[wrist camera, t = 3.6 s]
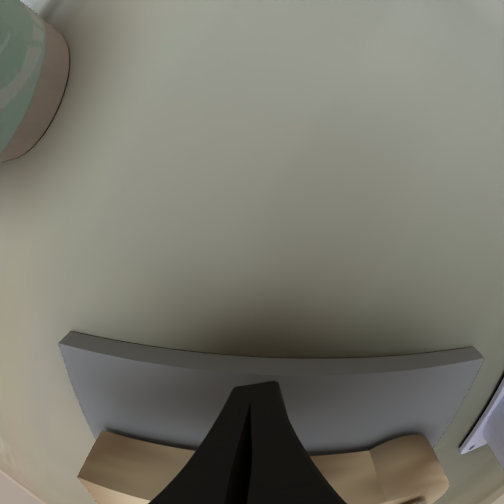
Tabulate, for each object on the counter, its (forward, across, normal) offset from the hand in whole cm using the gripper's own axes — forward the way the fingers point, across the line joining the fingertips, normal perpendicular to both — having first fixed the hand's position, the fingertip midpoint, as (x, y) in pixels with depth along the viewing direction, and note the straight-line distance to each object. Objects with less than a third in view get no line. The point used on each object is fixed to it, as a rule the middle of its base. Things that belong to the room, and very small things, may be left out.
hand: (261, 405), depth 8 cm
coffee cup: (+2, +7, -13) cm, 15 cm away
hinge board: (+2, +3, +12) cm, 12 cm away
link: (+1, +1, +6) cm, 6 cm away
